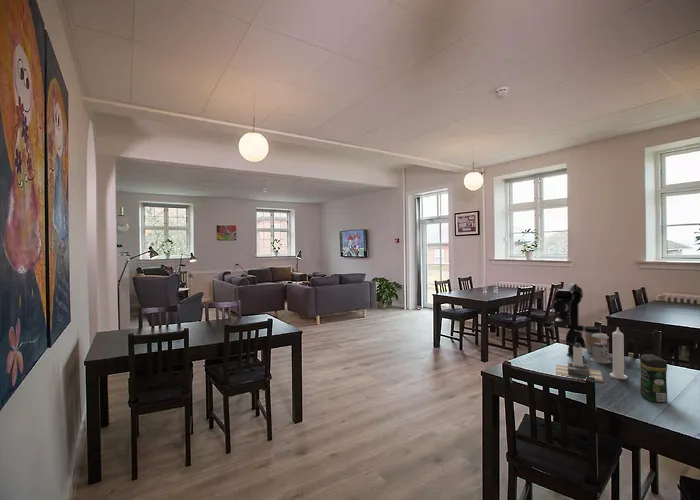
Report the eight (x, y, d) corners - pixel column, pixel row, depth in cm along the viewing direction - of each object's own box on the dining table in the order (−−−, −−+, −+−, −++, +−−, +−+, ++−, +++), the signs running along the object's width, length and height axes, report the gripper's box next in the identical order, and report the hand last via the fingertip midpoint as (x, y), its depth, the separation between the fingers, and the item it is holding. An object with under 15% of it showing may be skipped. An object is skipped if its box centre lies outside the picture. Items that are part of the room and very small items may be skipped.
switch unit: (555, 366, 198) (555, 356, 198) (600, 372, 188) (600, 361, 188) (555, 376, 184) (555, 365, 184) (603, 383, 174) (603, 371, 174)
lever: (573, 364, 189) (572, 342, 192) (582, 365, 187) (581, 343, 190) (573, 363, 186) (573, 342, 189) (582, 365, 184) (582, 342, 187)
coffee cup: (605, 354, 216) (605, 329, 216) (589, 354, 217) (589, 329, 216) (595, 349, 226) (595, 325, 225) (580, 350, 226) (579, 326, 226)
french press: (586, 359, 209) (585, 316, 208) (598, 356, 214) (598, 313, 213) (604, 364, 200) (603, 319, 199) (616, 360, 205) (616, 316, 204)
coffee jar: (637, 393, 162) (636, 352, 162) (658, 394, 160) (657, 353, 160) (648, 402, 153) (648, 359, 152) (671, 404, 151) (670, 360, 150)
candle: (630, 379, 178) (629, 328, 177) (614, 378, 179) (613, 328, 178) (622, 374, 185) (622, 325, 184) (607, 373, 186) (606, 325, 185)
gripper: (540, 310, 194) (539, 340, 192) (581, 314, 181) (580, 346, 179) (546, 311, 202) (545, 339, 200) (585, 315, 189) (584, 345, 187)
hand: (562, 342), depth 191 cm, fingers open, 9 cm apart
